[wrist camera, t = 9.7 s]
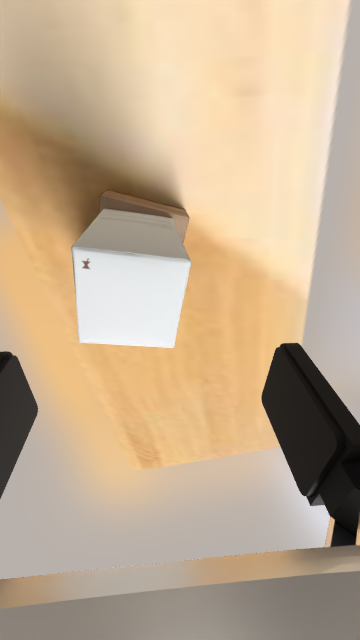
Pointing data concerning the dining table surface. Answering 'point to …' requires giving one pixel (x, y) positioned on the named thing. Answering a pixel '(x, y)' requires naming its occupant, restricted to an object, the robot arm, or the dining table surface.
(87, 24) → the dining table surface
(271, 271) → the dining table surface
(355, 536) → the robot arm
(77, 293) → the supplement box
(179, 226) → the walnut block
